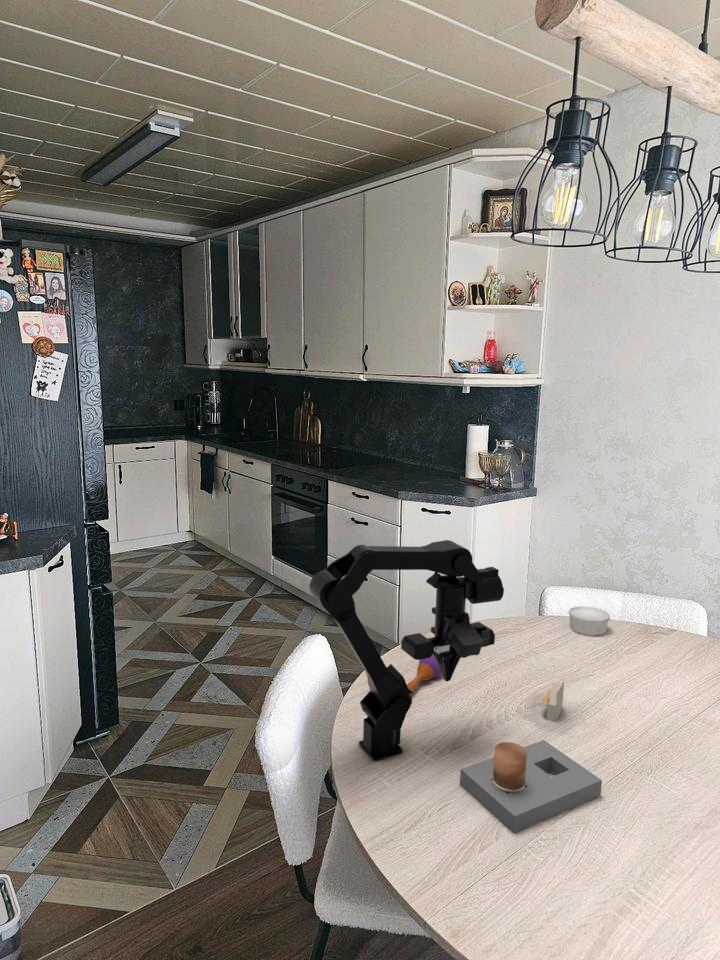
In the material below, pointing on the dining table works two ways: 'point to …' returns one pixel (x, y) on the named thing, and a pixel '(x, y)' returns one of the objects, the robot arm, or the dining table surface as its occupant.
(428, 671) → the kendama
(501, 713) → the dining table surface
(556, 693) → the architectural model
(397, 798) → the dining table surface
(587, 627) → the ramekin
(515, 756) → the mahogany dowel
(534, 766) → the charcoal board
